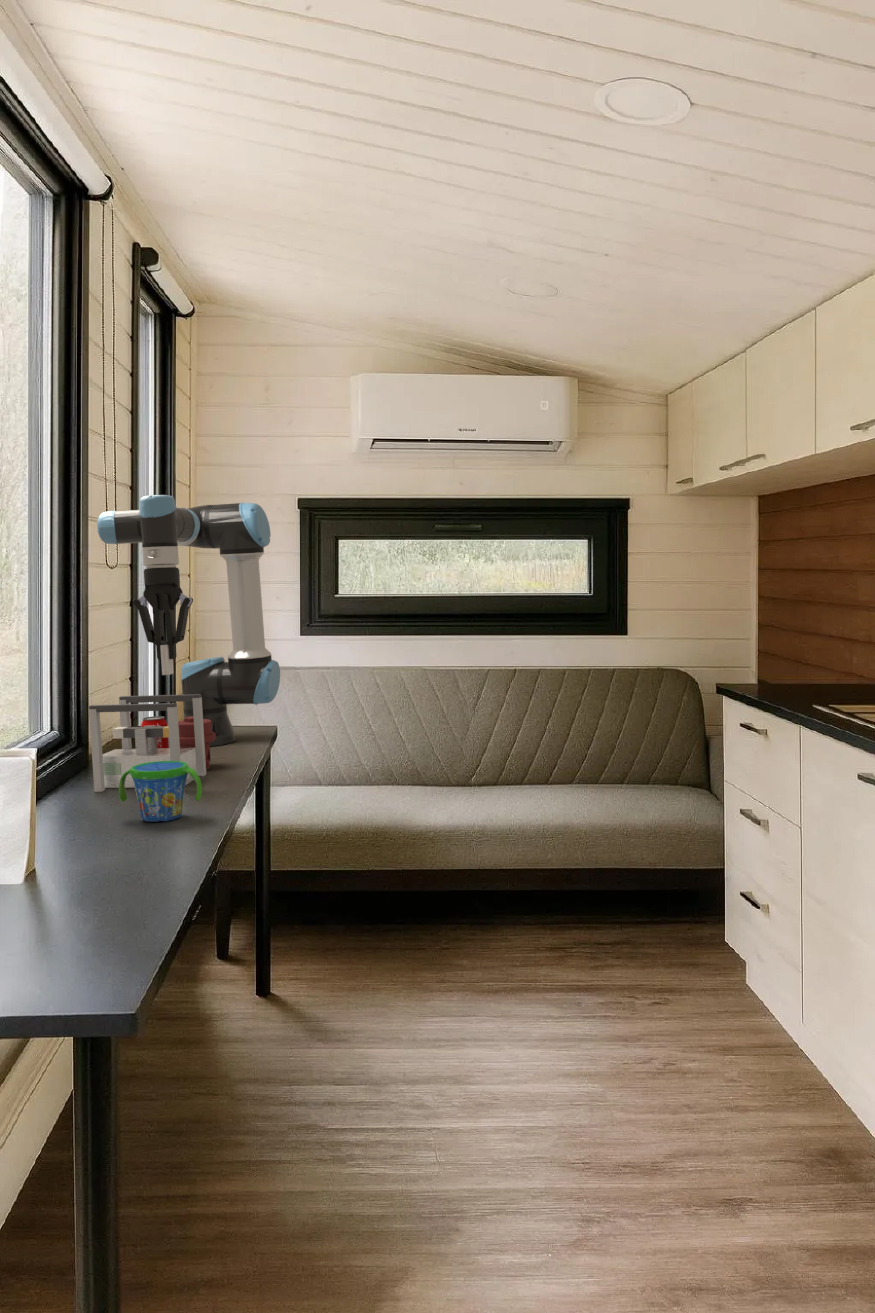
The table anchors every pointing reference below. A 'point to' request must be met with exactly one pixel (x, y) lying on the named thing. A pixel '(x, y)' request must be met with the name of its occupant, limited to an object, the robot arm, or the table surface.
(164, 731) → the lever
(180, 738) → the mechanical component
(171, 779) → the snack cup
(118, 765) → the grey box
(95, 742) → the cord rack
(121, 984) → the table surface
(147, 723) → the soda can
